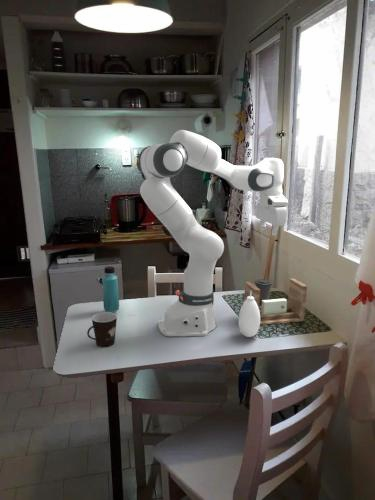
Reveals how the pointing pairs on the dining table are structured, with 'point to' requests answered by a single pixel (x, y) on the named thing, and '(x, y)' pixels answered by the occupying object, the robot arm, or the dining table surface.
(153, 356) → the dining table surface
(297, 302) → the track frame
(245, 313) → the sauce bottle
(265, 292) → the coffee cup
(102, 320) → the coffee mug
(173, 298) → the dining table surface
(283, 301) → the door panel
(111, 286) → the beverage bottle
